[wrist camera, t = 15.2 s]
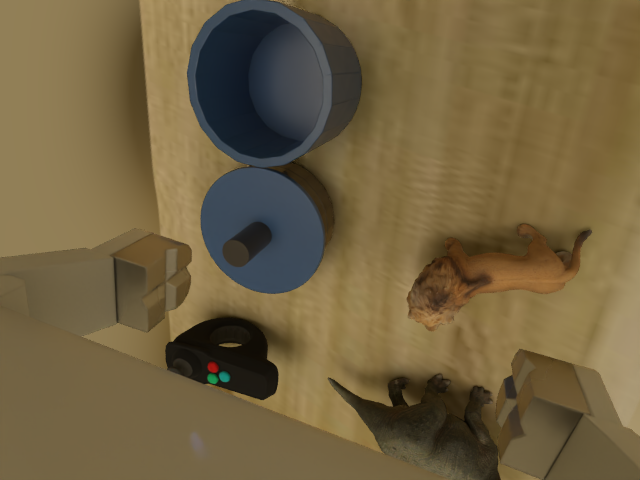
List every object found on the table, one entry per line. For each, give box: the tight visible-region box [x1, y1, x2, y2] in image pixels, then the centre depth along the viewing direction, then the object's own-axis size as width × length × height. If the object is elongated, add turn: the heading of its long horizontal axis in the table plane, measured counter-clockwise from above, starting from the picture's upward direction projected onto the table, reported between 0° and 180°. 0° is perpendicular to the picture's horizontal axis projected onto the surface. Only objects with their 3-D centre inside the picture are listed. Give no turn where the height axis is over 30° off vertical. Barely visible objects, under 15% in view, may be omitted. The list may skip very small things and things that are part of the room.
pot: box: [187, 0, 362, 168], centre depth 34 cm, size 11×11×9 cm
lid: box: [201, 166, 325, 294], centre depth 37 cm, size 12×12×6 cm
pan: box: [266, 163, 334, 248], centre depth 41 cm, size 11×11×5 cm
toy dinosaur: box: [328, 374, 501, 480], centre depth 40 cm, size 22×8×11 cm, turn 61°
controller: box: [165, 318, 278, 400], centre depth 45 cm, size 4×12×10 cm, turn 83°
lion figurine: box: [407, 224, 592, 331], centre depth 34 cm, size 15×5×9 cm, turn 115°
